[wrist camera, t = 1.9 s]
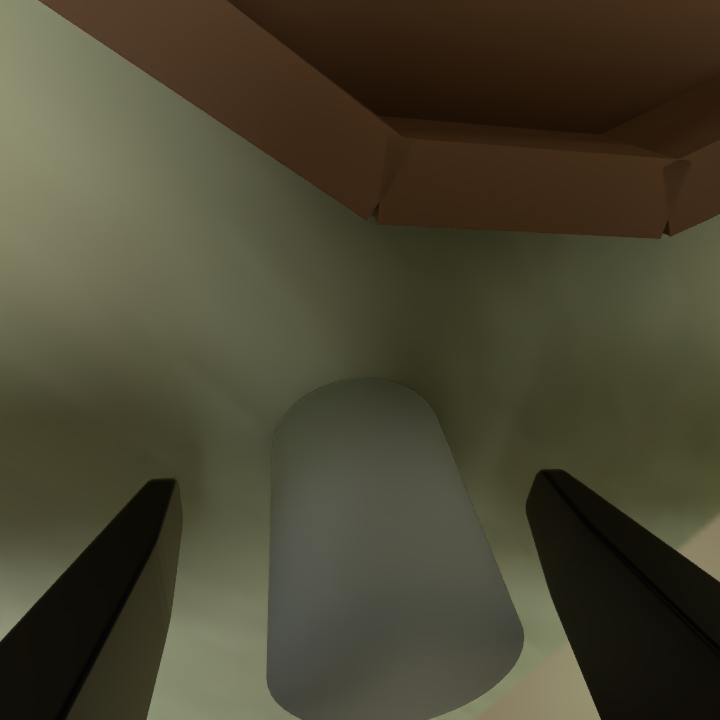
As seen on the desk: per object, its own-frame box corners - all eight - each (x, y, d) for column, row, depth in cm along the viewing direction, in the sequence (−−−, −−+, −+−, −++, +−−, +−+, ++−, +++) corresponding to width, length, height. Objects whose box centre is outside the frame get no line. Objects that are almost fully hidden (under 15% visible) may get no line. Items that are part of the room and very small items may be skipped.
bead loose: (426, 505, 11) (492, 716, 7) (271, 510, 10) (267, 740, 7) (455, 378, 9) (555, 576, 6) (271, 377, 9) (265, 594, 5)
